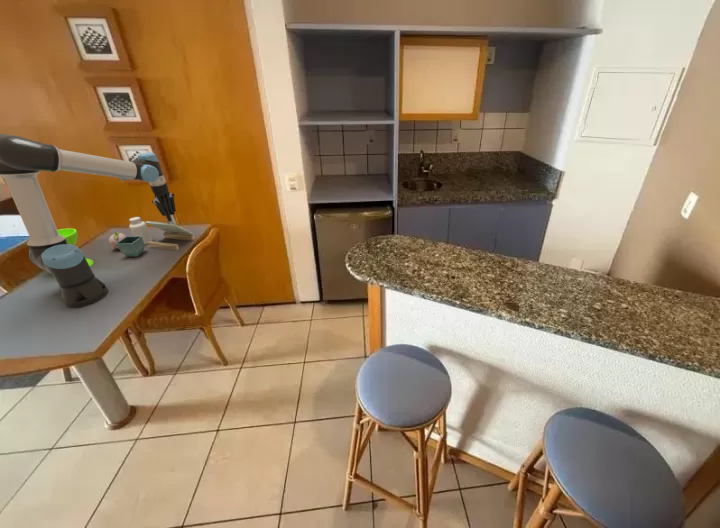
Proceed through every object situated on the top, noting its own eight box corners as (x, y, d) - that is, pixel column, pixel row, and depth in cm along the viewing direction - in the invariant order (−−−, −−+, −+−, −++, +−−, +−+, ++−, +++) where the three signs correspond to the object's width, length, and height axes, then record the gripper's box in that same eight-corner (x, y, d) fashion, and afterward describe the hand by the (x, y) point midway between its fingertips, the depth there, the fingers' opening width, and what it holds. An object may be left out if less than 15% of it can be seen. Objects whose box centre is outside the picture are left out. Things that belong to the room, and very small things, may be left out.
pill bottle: (137, 241, 180) (126, 217, 172) (152, 238, 183) (143, 214, 176) (137, 246, 174) (126, 222, 166) (153, 243, 178) (143, 219, 170)
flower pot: (138, 258, 162) (131, 243, 157) (122, 258, 162) (114, 243, 158) (148, 250, 170) (142, 236, 165) (133, 250, 170) (126, 236, 165)
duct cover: (174, 225, 166) (175, 223, 166) (145, 222, 170) (146, 220, 171) (193, 234, 179) (194, 232, 179) (165, 231, 184) (166, 229, 184)
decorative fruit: (113, 247, 174) (105, 231, 169) (130, 243, 178) (122, 227, 173) (113, 254, 167) (105, 237, 162) (131, 249, 171) (124, 233, 166)
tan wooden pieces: (176, 250, 168) (164, 220, 159) (147, 247, 173) (134, 217, 164) (201, 235, 185) (192, 206, 176) (174, 232, 190) (164, 204, 181)
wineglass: (99, 257, 164) (83, 226, 155) (83, 273, 151) (64, 240, 141) (65, 261, 161) (46, 230, 152) (45, 277, 148) (23, 244, 139)
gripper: (153, 188, 154) (170, 231, 166) (173, 180, 164) (187, 221, 177) (142, 187, 155) (159, 230, 168) (162, 180, 166) (177, 220, 178)
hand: (173, 225), depth 172 cm, fingers closed
